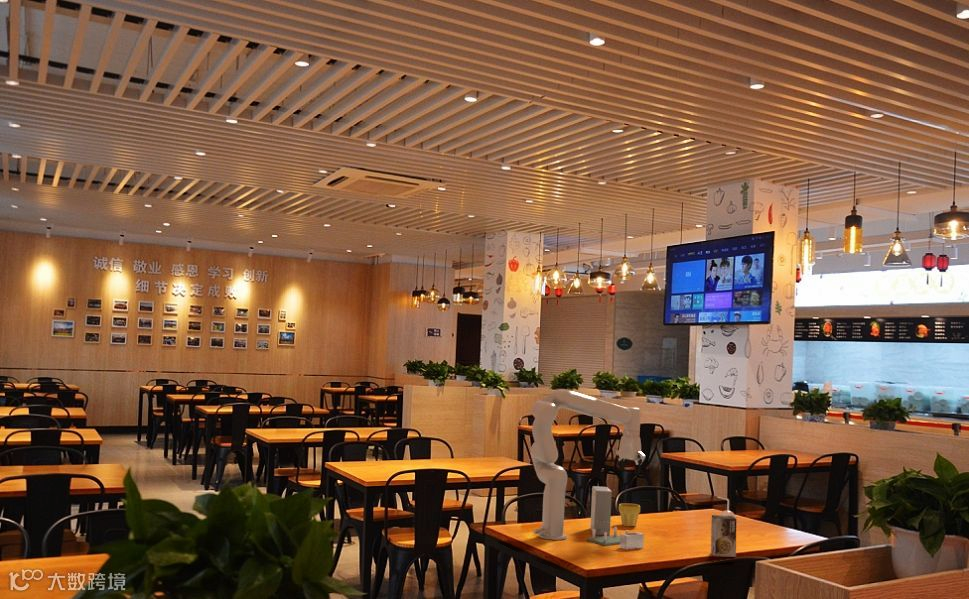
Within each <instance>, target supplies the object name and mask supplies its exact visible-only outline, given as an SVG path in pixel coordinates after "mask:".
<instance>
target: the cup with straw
mask: <svg viewBox="0 0 969 599" xmlns="http://www.w3.org/2000/svg"><path fill="white" fill-rule="evenodd" d="M717 498H718V499H722V500H726V501H727V506H726V510H723V511H722V512H720V514H719V515H724V516H733V517H735V518H736V519H737V520H738V518H737V517H736V515H735V513H734V511H731V510H730V499H729V498H726V497H723V496H719V495H717V496H716V499H717Z"/></svg>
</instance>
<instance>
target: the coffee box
mask: <svg viewBox="0 0 969 599" xmlns="http://www.w3.org/2000/svg"><path fill="white" fill-rule="evenodd" d="M736 518H737V517H736V516H735V517H733V516H724V515H720V514H712V515H711V527H710V528H711V529H710V530H711V532H710V533H711V534H710V535H711V536H710V553H711V555H712V556H714V557H727V558H729V557H730V558H731V557H732V558H735V557H737V521H738V518H737V519H736Z"/></svg>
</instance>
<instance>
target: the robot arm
mask: <svg viewBox="0 0 969 599" xmlns="http://www.w3.org/2000/svg"><path fill="white" fill-rule="evenodd" d="M560 409H566V410H569V411H572V412H575V413H578V414H581V415H586V416H589V417H593V418H600V419H604V420H608V421H610V422H613V423H617V424H622V425H623V430H622V431H621V433H622V436H621V438H620V441H619V448H618V449H617V450H615V454H616V458H617V460H618V471H625V469H626V468H625V466H626V465H625V464H626V462H625V460H631V461H634V462H635V464H634V474H641V468H642V466H641V465H642V464H643V463H644V462H645V459H646V455H645V454H644V453H643V452H642V443H641V437H640V432H641V431H640V430H641V429H640V428H641V412H642V411H641V408H639V407H632V406H627V407H626V406H622V405H618V404H615V403H612V402H608V401H605V400H602V399H600V398H596V397H594V396H590V395H587V394H583V393H579V392H576V391H573V390H570V389H562V388H561V389H557V390H555V391H553V392H551V393H549V394H548V395H545V396H543V397H542V398H540V399H537V401H535V402H534V403H533V404H532V406H531V414H532V416H533V417H534V420H533V423H532V428H531V431H532V437H533V441H534V442H533V443H532V445H531V448H530V457H531V460H532V464H533V466H534V467H533V468H534V470H535V473H536V477H537V478H538V480H539V481H540V482H542V483H543V484H545V486H544V490H543V498H542V518H541V519H542V522H541V525H540V526H539V528H534V529H533V532H532V533H533V534H535V535H537V536H538V538H541V539H545V540H553V541H556V540H557V541H559V540H560V541H561V540H565V539H567V537H568V536H567V534H565V533H564V524H565V504H566V503H565V502H566V498H565V497H566V489H567V483H568V474H567V471H566V470H565V468H564V467H562V466H561V465H557V464H555V462H556V461H557V460H558V457H559V451H558V448H557V445H556V442H555V438H554V436H553V432H552V426H553V424H554V421H555V420H556V418H557V416H558V415H559V414H558V412H559V410H560Z"/></svg>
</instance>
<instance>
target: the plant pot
mask: <svg viewBox="0 0 969 599" xmlns="http://www.w3.org/2000/svg"><path fill="white" fill-rule="evenodd" d="M618 512H619V515H620V519H621V525H622V526H623V525H624V527H629V526H634V527H636V526H637V522H638V519H639V514H640V513H641V506H640V504H636V503H619V504H618Z"/></svg>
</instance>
